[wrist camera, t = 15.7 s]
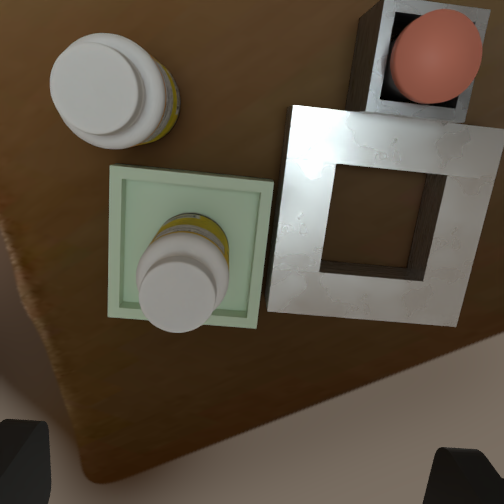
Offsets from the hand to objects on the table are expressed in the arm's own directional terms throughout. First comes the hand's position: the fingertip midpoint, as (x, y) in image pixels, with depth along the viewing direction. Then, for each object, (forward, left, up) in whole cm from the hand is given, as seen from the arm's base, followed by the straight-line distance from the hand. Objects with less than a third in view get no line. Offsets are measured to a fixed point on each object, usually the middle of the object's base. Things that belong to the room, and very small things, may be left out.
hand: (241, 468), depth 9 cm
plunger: (-10, -11, -23) cm, 27 cm away
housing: (-10, -4, -24) cm, 26 cm away
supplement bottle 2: (+3, +2, -23) cm, 24 cm away
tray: (+3, +2, -24) cm, 24 cm away
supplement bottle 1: (+7, -8, -24) cm, 26 cm away
